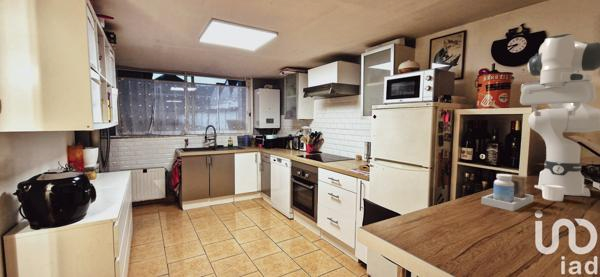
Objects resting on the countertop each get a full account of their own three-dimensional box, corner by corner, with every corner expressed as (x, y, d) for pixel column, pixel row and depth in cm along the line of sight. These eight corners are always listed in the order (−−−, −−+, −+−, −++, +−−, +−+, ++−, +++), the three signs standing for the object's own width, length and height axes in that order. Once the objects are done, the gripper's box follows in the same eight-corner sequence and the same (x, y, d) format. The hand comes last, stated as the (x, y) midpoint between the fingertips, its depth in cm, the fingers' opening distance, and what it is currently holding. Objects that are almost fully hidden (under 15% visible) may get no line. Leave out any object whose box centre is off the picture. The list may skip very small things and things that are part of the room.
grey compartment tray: (502, 198, 110) (503, 189, 110) (533, 205, 102) (533, 195, 102) (481, 207, 100) (481, 197, 99) (512, 215, 91) (513, 204, 91)
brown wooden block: (506, 197, 107) (507, 173, 107) (524, 201, 102) (525, 176, 102) (500, 199, 104) (501, 175, 103) (518, 203, 99) (520, 178, 98)
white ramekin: (569, 205, 102) (570, 187, 101) (551, 205, 102) (552, 187, 102) (552, 200, 109) (553, 183, 108) (536, 200, 109) (537, 183, 108)
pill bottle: (515, 207, 94) (516, 177, 94) (494, 205, 97) (496, 175, 96) (511, 202, 100) (512, 174, 99) (491, 200, 102) (492, 172, 102)
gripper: (518, 81, 103) (516, 116, 104) (594, 73, 86) (591, 115, 87) (524, 83, 107) (522, 116, 108) (598, 75, 90) (595, 115, 91)
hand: (553, 116), depth 97 cm, fingers open, 8 cm apart
